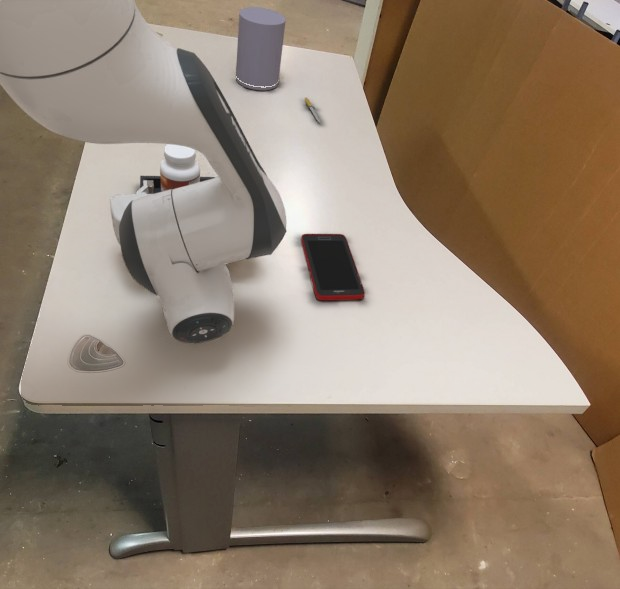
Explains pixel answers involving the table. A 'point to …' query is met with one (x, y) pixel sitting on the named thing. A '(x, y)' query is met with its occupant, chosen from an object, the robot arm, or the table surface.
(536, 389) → the table surface
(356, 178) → the table surface
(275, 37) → the container
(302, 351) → the table surface
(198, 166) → the pill bottle
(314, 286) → the cell phone
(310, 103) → the dagger
